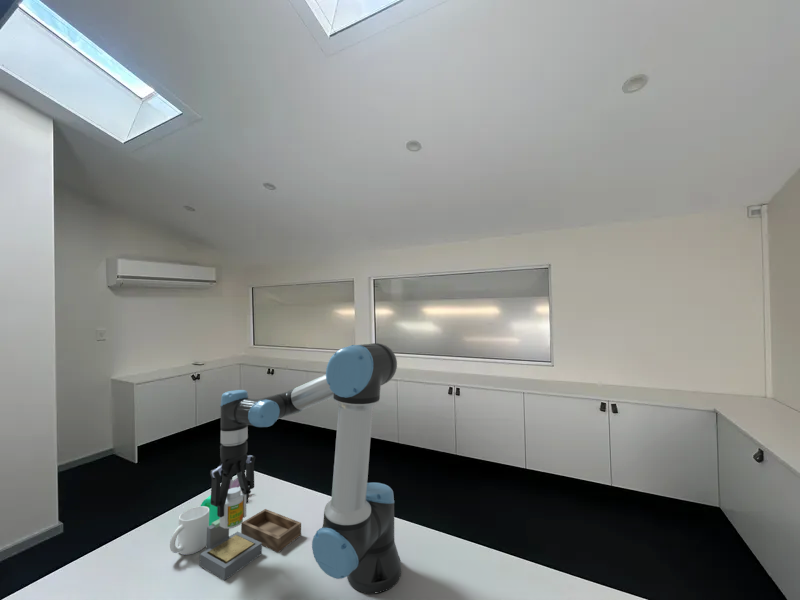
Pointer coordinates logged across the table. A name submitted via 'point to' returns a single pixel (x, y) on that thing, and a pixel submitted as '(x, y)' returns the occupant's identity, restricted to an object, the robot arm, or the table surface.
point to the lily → (234, 483)
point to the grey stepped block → (224, 571)
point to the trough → (271, 529)
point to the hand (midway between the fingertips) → (233, 521)
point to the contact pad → (231, 549)
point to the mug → (191, 531)
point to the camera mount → (211, 510)
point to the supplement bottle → (234, 507)
